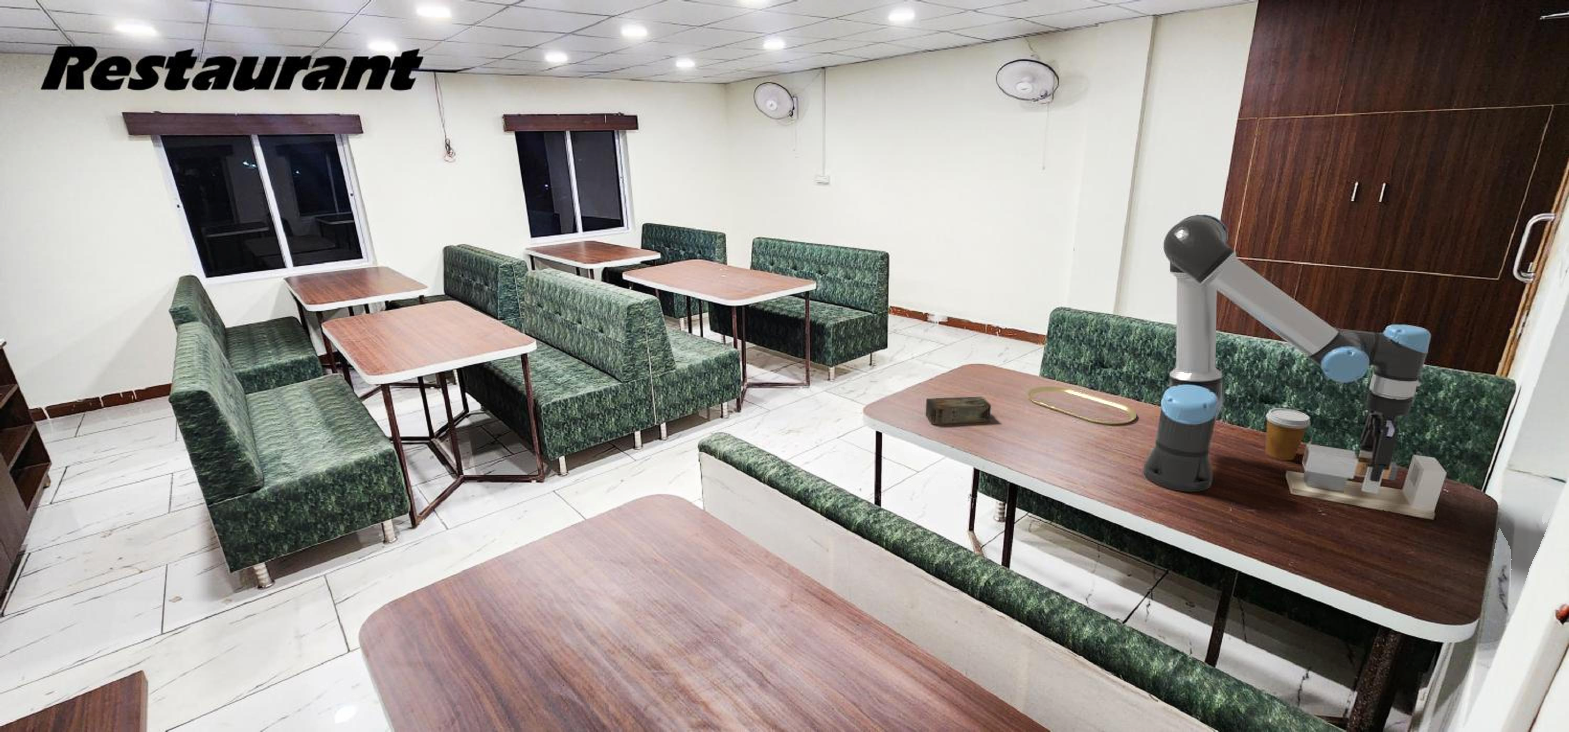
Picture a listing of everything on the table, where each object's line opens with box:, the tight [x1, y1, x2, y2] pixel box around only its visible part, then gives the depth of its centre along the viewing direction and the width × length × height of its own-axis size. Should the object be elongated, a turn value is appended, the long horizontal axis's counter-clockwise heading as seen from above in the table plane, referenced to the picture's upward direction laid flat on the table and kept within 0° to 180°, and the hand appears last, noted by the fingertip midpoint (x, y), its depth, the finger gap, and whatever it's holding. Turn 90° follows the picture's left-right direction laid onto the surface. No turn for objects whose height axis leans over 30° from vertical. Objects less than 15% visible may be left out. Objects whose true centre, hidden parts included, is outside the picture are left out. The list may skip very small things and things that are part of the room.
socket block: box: [1401, 454, 1447, 513], centre depth 147 cm, size 4×8×10 cm, turn 150°
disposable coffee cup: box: [1264, 407, 1311, 461], centre depth 173 cm, size 10×10×12 cm
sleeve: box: [1301, 443, 1358, 493], centre depth 155 cm, size 9×5×9 cm, turn 60°
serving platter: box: [1026, 386, 1137, 426], centre depth 212 cm, size 19×35×2 cm, turn 35°
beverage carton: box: [925, 396, 992, 425], centre depth 205 cm, size 8×19×7 cm, turn 93°
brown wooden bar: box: [1355, 456, 1399, 481], centre depth 153 cm, size 15×3×3 cm, turn 60°
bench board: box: [1285, 470, 1436, 520], centre depth 154 cm, size 26×10×2 cm, turn 60°
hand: (1365, 483), depth 152 cm, fingers open, 8 cm apart
